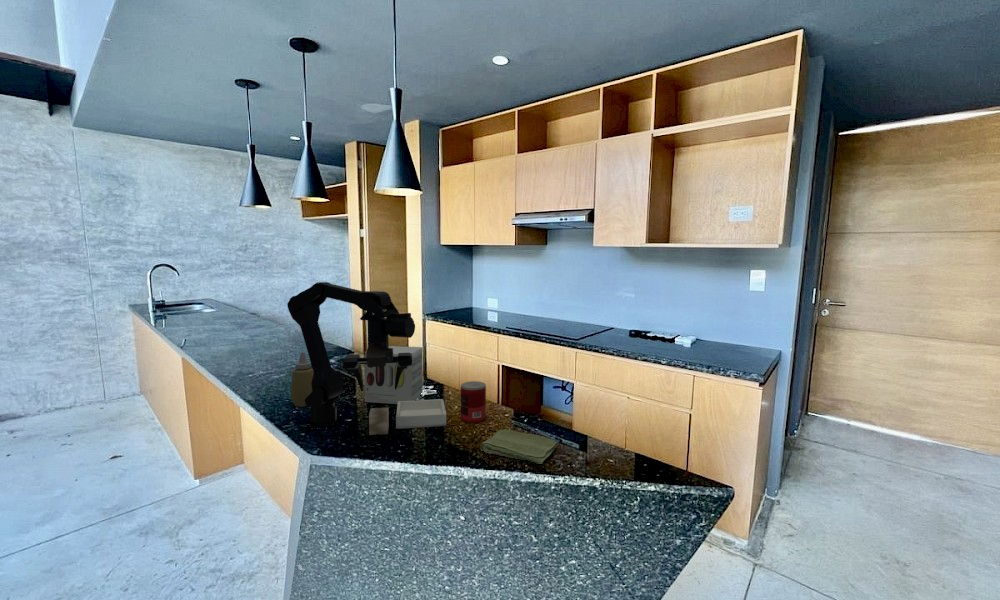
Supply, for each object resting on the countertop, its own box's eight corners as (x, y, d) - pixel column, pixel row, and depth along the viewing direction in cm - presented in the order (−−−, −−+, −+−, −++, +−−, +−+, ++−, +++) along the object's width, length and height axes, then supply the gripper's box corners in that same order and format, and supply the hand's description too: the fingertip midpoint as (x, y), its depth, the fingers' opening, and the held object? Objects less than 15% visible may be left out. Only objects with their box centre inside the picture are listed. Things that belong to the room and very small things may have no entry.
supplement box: (363, 403, 142) (363, 351, 141) (379, 392, 156) (379, 344, 154) (411, 405, 140) (411, 353, 139) (423, 394, 154) (423, 346, 152)
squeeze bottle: (285, 406, 138) (283, 353, 136) (304, 399, 145) (303, 349, 144) (303, 409, 135) (301, 355, 133) (322, 402, 142) (321, 351, 141)
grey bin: (396, 428, 120) (396, 417, 119) (398, 411, 134) (397, 401, 134) (446, 425, 123) (446, 414, 122) (442, 409, 137) (442, 399, 137)
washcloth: (543, 469, 97) (543, 456, 97) (478, 454, 105) (478, 442, 105) (559, 448, 109) (559, 436, 109) (499, 436, 117) (499, 425, 116)
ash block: (369, 435, 115) (369, 414, 115) (371, 428, 120) (370, 408, 120) (387, 434, 116) (387, 413, 116) (388, 427, 121) (388, 407, 121)
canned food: (489, 416, 131) (489, 383, 130) (477, 425, 123) (478, 389, 123) (468, 413, 134) (468, 380, 133) (455, 421, 127) (456, 386, 126)
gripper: (338, 341, 106) (339, 400, 107) (411, 339, 110) (412, 396, 111) (345, 335, 117) (346, 388, 118) (411, 333, 121) (412, 385, 122)
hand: (379, 390), depth 117 cm, fingers open, 9 cm apart
